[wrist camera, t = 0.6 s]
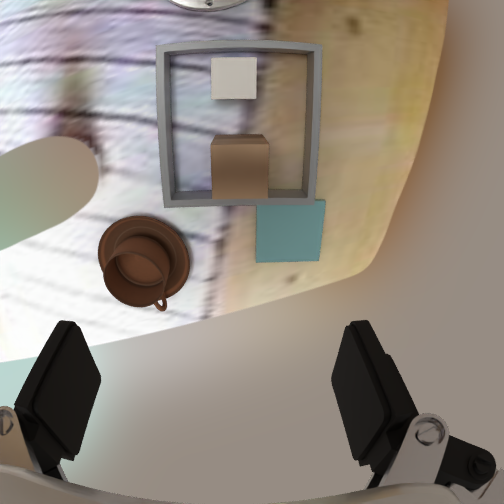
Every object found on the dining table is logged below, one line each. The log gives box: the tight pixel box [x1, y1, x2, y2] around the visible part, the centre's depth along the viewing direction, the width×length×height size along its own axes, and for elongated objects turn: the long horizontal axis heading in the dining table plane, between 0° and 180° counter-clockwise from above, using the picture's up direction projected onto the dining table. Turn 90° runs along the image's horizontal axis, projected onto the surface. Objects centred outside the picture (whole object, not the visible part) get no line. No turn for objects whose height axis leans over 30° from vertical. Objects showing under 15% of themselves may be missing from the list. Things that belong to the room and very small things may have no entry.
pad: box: [256, 200, 326, 263], centre depth 37 cm, size 8×8×1 cm
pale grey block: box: [211, 57, 257, 100], centre depth 26 cm, size 4×4×5 cm
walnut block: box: [211, 134, 269, 200], centre depth 30 cm, size 5×5×7 cm
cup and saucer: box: [98, 216, 190, 311], centre depth 35 cm, size 12×12×6 cm
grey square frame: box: [156, 40, 322, 208], centre depth 29 cm, size 17×16×3 cm
